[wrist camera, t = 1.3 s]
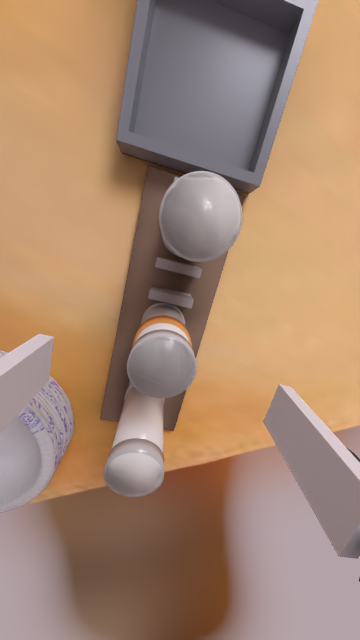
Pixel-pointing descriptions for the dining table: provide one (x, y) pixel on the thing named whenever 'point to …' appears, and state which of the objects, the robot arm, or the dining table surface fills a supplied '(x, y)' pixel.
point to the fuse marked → (162, 353)
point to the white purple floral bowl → (34, 445)
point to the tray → (211, 83)
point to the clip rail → (158, 294)
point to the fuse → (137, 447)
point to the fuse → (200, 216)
